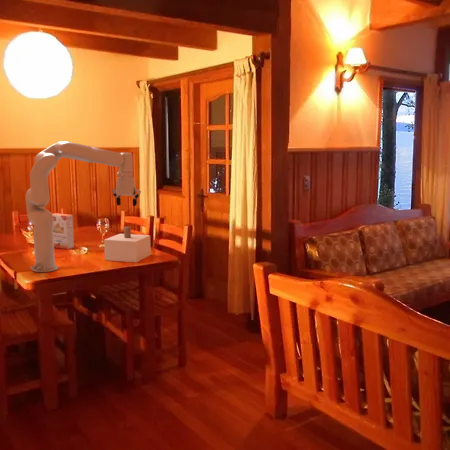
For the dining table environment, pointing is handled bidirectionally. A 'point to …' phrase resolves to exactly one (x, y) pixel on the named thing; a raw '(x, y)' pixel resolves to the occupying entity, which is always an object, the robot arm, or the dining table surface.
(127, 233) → the cover
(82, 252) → the dining table surface
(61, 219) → the cracker box
